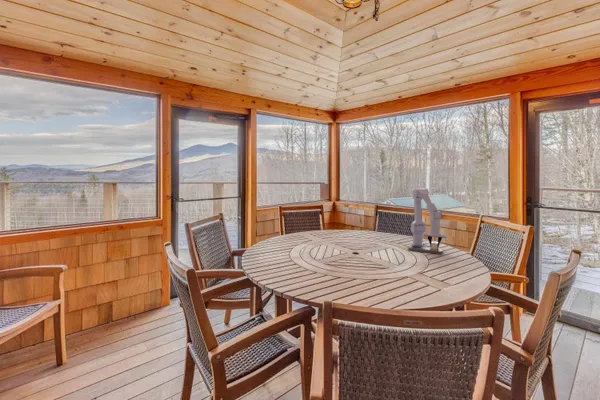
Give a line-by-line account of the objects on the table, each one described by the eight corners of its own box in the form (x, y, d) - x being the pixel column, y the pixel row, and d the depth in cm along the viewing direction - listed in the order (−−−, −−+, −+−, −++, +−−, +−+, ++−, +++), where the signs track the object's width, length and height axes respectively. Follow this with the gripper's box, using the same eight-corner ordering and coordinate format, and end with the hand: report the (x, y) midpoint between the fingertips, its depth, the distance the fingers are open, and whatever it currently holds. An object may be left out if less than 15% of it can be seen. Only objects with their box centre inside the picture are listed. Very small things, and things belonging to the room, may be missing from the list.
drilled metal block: (431, 251, 217) (431, 241, 216) (437, 251, 215) (438, 242, 214) (430, 252, 213) (431, 242, 212) (437, 253, 211) (437, 243, 210)
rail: (410, 247, 226) (410, 244, 226) (442, 251, 215) (442, 248, 215) (408, 250, 219) (408, 247, 219) (441, 254, 208) (441, 251, 208)
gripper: (423, 228, 212) (422, 247, 214) (446, 230, 205) (445, 249, 207) (424, 226, 219) (424, 245, 220) (447, 228, 211) (446, 247, 213)
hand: (434, 247), depth 214 cm, fingers closed on drilled metal block, 4 cm apart
